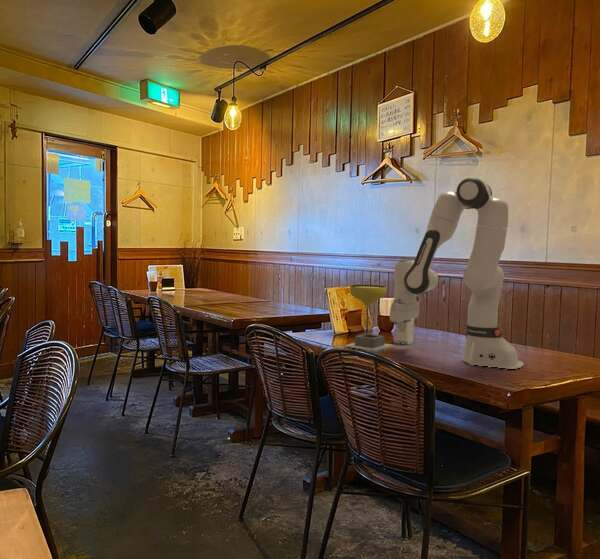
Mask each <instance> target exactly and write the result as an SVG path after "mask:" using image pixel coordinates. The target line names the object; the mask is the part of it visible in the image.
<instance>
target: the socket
mask: <svg viewBox="0 0 600 559" xmlns="http://www.w3.org/2000/svg"><path fill="white" fill-rule="evenodd" d="M361 334H362V333H361ZM373 334H374V333H370V334H362V335H358V336H356V335H355V336H354V342H352V343H349V344H344V348H345V347H351V348H356V349H355V350H357V349H362V350H361V351H363V350H366V351H365V352H369V353H375V352H377V353H380V352H383V351H382V350H384V351H386V349H387V350H390V349H393V348H395V345H396V344H395V345H394V344H391V343H385V341H386V340H385V339H386V338H385V335H379V334H375V335H373ZM351 348H350V349H351ZM389 348H390V349H389ZM371 351H373V352H371ZM379 351H380V352H379Z"/></svg>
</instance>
